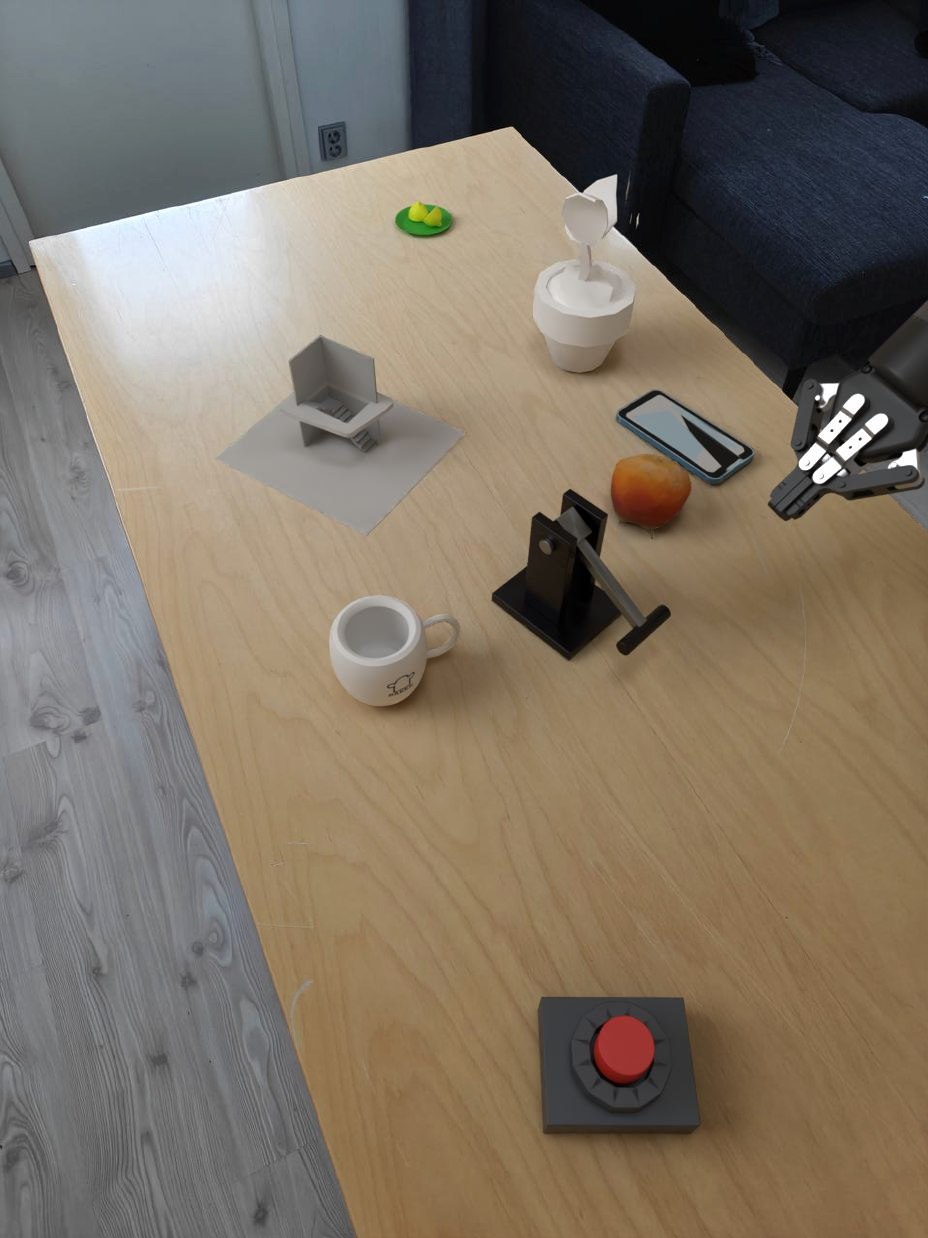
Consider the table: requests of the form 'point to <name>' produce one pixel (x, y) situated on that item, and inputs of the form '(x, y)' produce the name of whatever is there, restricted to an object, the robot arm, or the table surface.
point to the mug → (383, 648)
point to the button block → (597, 1102)
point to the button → (624, 1049)
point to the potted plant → (585, 286)
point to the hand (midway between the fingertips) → (776, 513)
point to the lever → (613, 586)
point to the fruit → (648, 490)
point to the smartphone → (685, 436)
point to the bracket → (560, 583)
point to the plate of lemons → (423, 219)
